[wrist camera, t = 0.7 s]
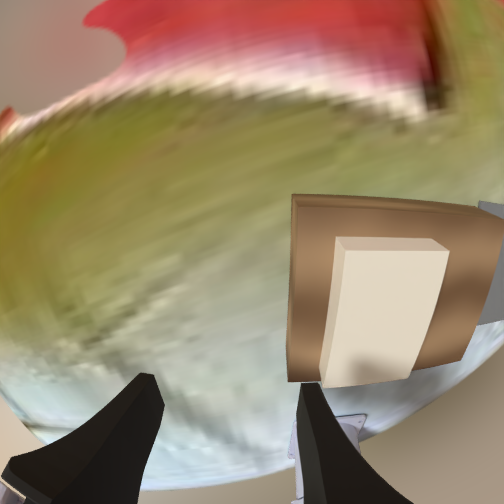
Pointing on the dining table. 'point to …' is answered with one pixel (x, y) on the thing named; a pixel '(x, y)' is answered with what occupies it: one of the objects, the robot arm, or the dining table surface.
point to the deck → (393, 226)
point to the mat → (500, 294)
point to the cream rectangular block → (379, 308)
